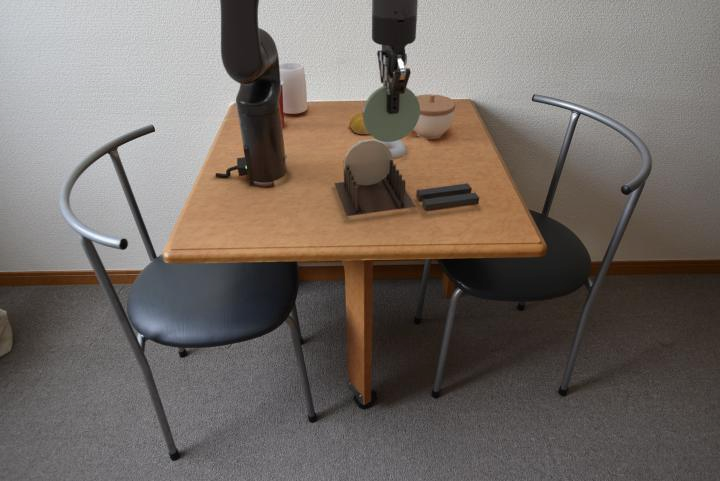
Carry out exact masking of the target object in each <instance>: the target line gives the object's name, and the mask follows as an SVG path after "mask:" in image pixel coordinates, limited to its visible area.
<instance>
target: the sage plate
mask: <svg viewBox="0 0 720 481" xmlns="http://www.w3.org/2000/svg"><path fill="white" fill-rule="evenodd" d="M416 96H417V95H416V94H415V93H414V92H413V91H412V89H410V88H408V87H407V86H406V89H405V93H404V94H400V98H399V112H398V113H397V114H388V113H387V85H386V86H383V85H382V86H380V87H379V88H377V89H375V90H374V91H373V92H372V93H371V94H370V95H369V97H368V98H367V99H366V101H365V103H364V107H363V109H362V113H363V122H364V125H365V128H366V129H367V131H368V132H369V134H368V135H370V136H371V137H372V138H373V139H376V140H380V141H383V142H393V141H397V140H402V139H404V138H406V137H407V136H409V134H410V133H412V131H414V130H413V129H414V127H415V126H416V124H417V122H418V119H419V115H420V105H419V101H418V99H417V97H416Z"/></svg>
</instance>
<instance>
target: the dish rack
mask: <svg viewBox="0 0 720 481" xmlns="http://www.w3.org/2000/svg"><path fill="white" fill-rule="evenodd" d="M342 162H343V164H342V165H343V166H342V167H344V160H343V161H342ZM406 182H407V181H406V179H403V174H402V173H400V169H398V168H397V164H395V163H394V159H393V160H390V170H389V173H388V175H387V176H386V177H385V178H384V179H383V180H381V181H380V182H378V183H376V184H373V185H366V186H365V185H359V184H356V180H354V176H353V175H351V170H349V165H346V172H345V170H344V169H343V181H341V182H340V181H339V182H334V186H335V189H336V192H337V194H338V197H339V200H340V202H341V205H342V208H343V211H344V213H345V216H346V217H351V216H352V217H353V216H359V215H365V214H366V215H367V214H372V213H373V214H374V213H380V212H388V211H394V210H403V209H409V208H415V207H416V205H415V203H414V202H413V200H412V199H411V197H410V195H409V193H408V192H407V190H406Z"/></svg>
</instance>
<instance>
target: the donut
mask: <svg viewBox="0 0 720 481" xmlns="http://www.w3.org/2000/svg"><path fill="white" fill-rule="evenodd" d="M379 141H380V140H379ZM381 142H383V141H381ZM383 143H385V144H386V145H387V146H388V148H389V149H390V151H391V153H392V157H393V160H397V159H400V158H403V157H404V156H406V155H407V153H408V146H407V144H406V143H405V142H404V141H402V139H400V140H397V141H393V142H383Z"/></svg>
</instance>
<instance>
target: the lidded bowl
mask: <svg viewBox="0 0 720 481" xmlns="http://www.w3.org/2000/svg"><path fill="white" fill-rule="evenodd" d="M415 96H416V97H417V99H418V101H419V105H420V115H419V119H418V122H417V124H416V126H415V127H414V129H413V130H412V131H414V132H415V133H416V135H417V137H418V138H424V139H426V140H436V139H439V138H441V137H442V135H443V134H446V132H447V131H448V130H449V129H450V127H451V125H452V123H453V120H454V116H455V108H456V101H454V99H453V98H450V97H449V96H445V95H440V94H431V93H430V94H419V95H415Z"/></svg>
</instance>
